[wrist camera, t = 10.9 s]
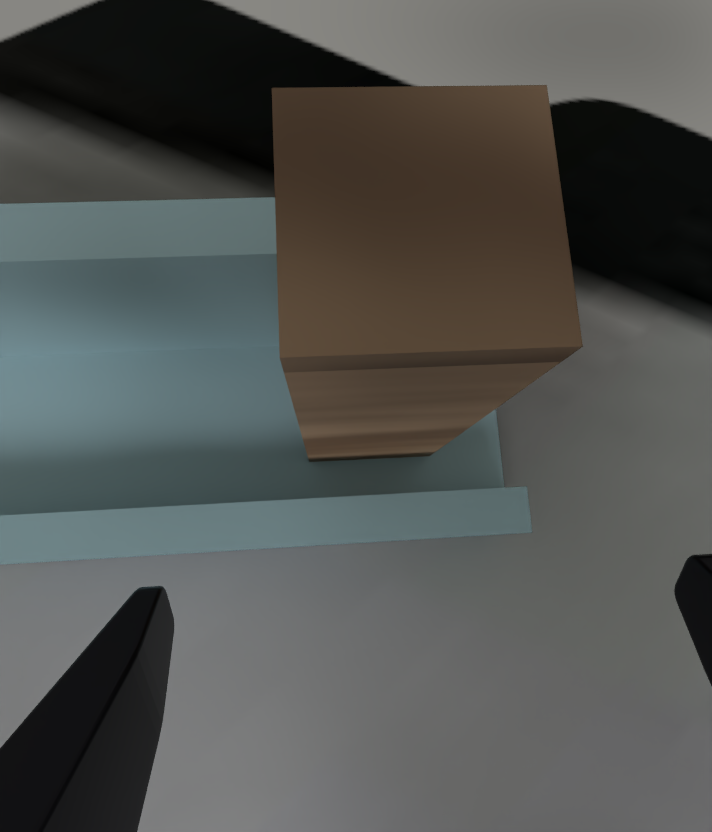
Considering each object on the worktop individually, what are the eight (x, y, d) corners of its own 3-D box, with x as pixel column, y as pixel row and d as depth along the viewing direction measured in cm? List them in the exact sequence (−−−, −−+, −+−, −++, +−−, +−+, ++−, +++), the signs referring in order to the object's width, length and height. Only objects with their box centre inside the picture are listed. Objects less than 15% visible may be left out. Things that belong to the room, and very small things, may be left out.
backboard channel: (504, 531, 21) (606, 533, 14) (-46, 564, 20) (-283, 587, 12) (480, 305, 23) (558, 190, 15) (-27, 323, 22) (-225, 209, 14)
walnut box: (429, 456, 21) (582, 346, 8) (309, 462, 21) (279, 357, 8) (420, 341, 22) (546, 85, 9) (304, 345, 22) (271, 88, 9)
